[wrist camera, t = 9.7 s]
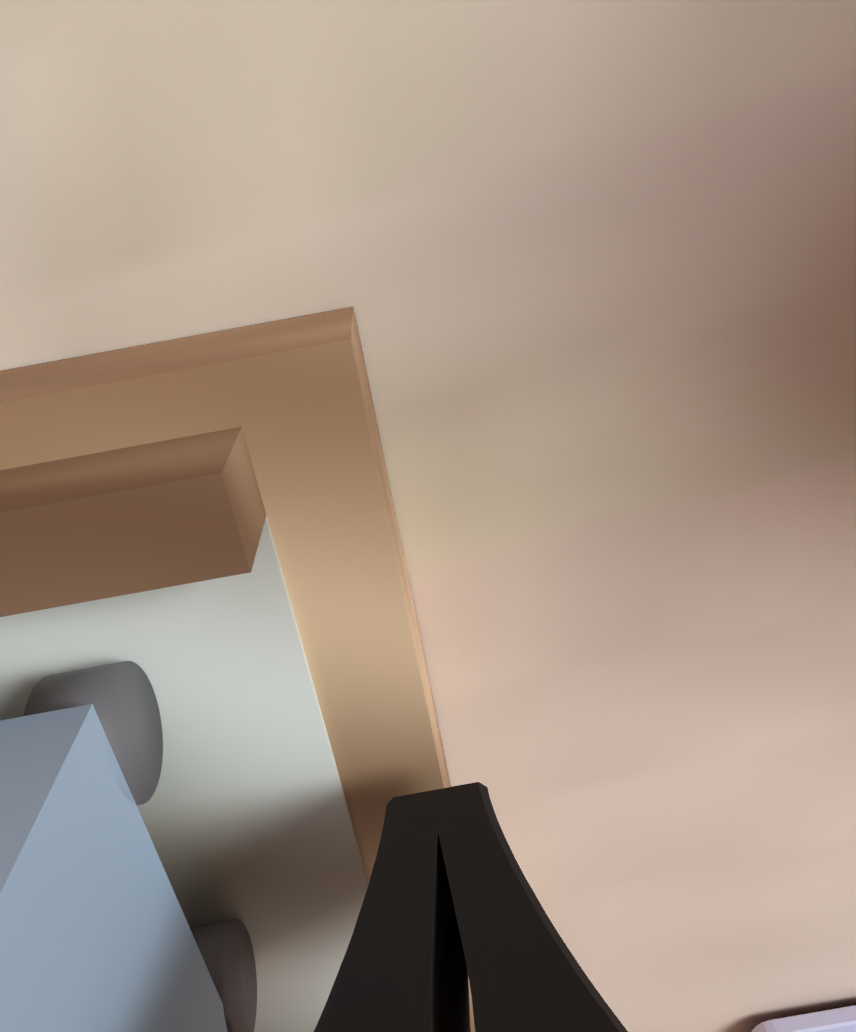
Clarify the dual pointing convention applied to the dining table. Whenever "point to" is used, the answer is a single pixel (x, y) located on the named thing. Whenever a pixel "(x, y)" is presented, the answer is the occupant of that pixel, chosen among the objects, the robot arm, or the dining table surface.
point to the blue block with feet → (101, 875)
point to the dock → (230, 615)
